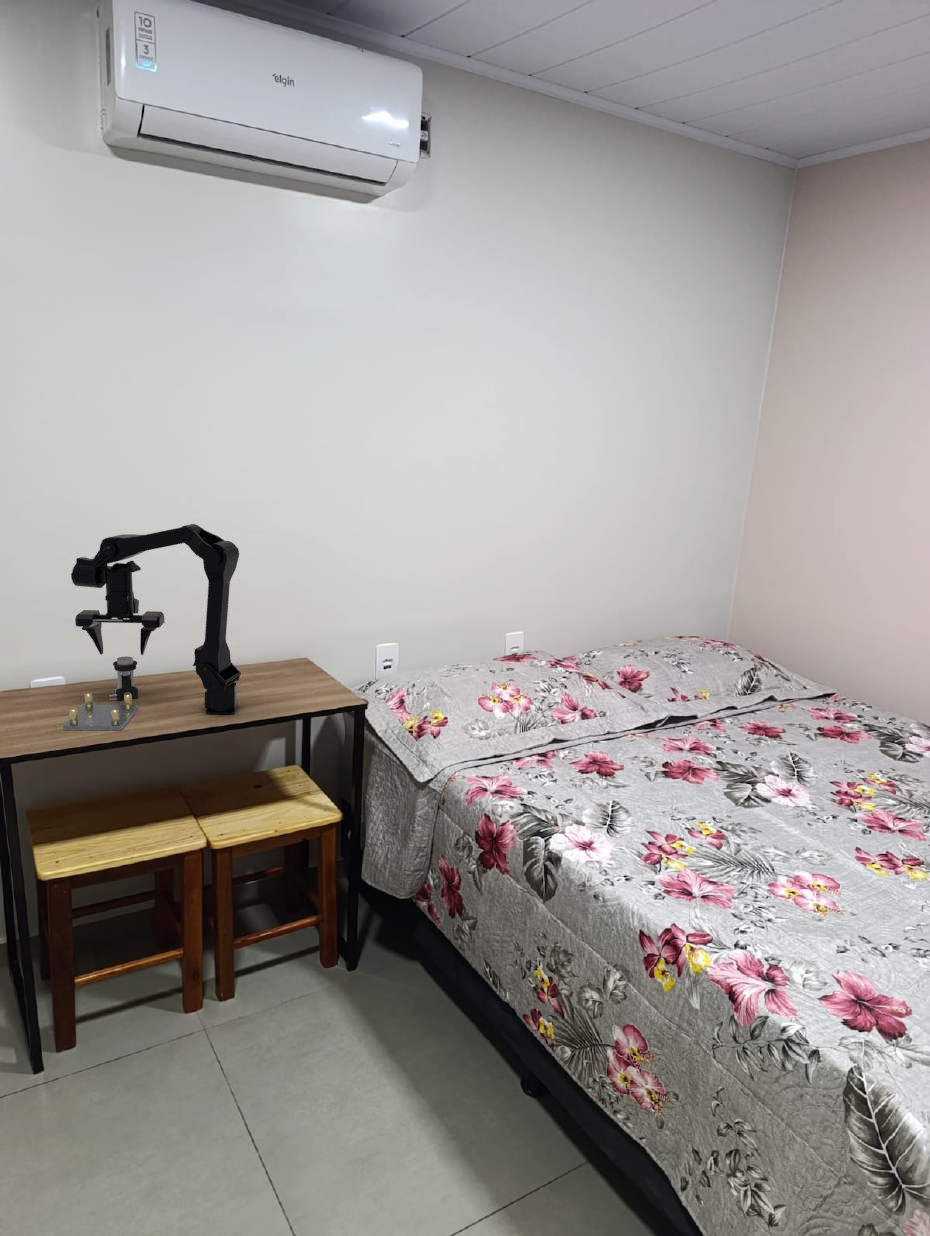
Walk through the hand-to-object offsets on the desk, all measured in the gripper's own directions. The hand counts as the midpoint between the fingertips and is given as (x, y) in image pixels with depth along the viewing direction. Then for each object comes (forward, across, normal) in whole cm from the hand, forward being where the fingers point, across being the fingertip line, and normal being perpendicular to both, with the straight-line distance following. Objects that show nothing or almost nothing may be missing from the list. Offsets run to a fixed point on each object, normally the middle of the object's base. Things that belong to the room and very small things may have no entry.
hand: (122, 654), depth 201 cm
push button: (+11, 0, 0) cm, 11 cm away
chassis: (+11, +1, +14) cm, 18 cm away
